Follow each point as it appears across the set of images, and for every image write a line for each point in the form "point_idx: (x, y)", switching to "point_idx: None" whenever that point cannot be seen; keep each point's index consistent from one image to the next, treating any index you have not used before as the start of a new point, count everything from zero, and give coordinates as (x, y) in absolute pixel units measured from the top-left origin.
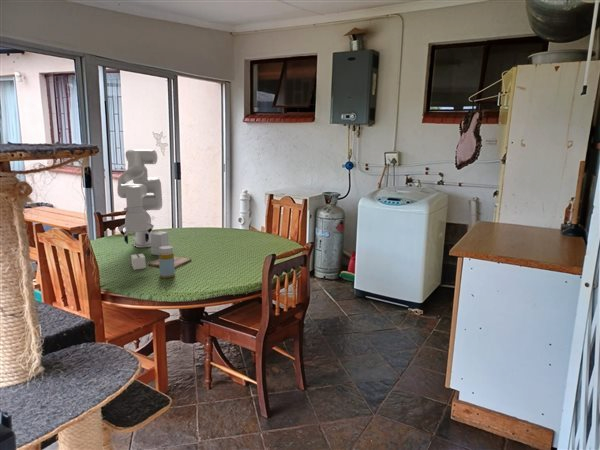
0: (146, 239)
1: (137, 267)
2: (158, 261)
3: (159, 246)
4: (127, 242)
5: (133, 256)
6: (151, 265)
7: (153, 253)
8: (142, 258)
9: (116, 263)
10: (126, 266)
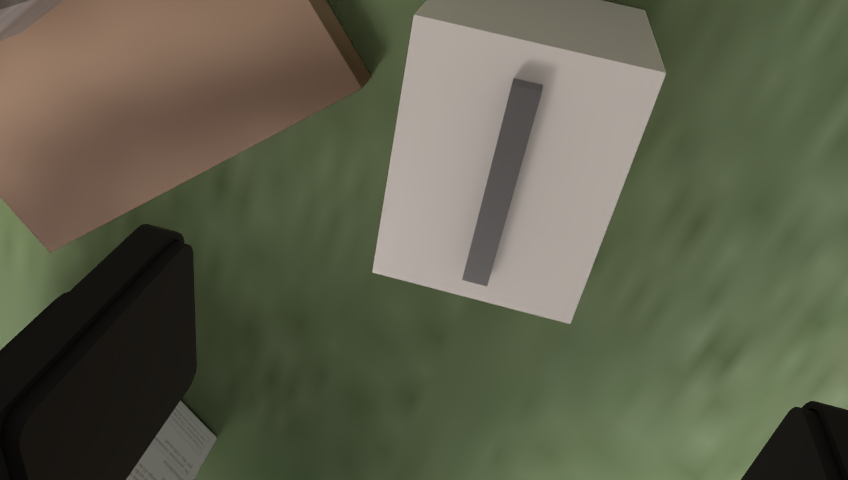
0: (144, 283)
1: (585, 4)
2: (202, 81)
3: None
4: (839, 432)
5: (582, 213)
6: (337, 26)
7: (194, 430)
8: (472, 20)
9: (677, 417)
10: (645, 238)
